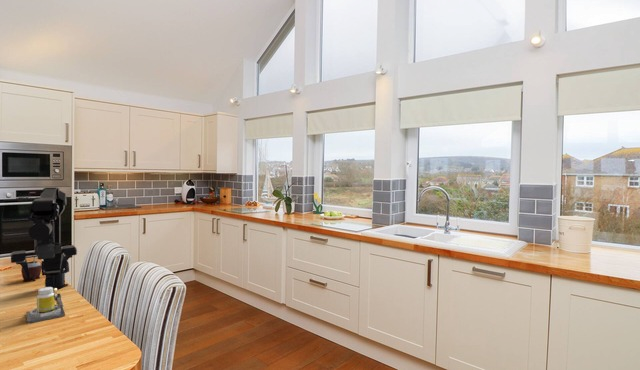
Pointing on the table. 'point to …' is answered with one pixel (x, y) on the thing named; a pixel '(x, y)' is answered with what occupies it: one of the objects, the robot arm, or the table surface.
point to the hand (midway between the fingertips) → (45, 276)
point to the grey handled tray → (58, 312)
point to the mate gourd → (32, 271)
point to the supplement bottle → (45, 300)
